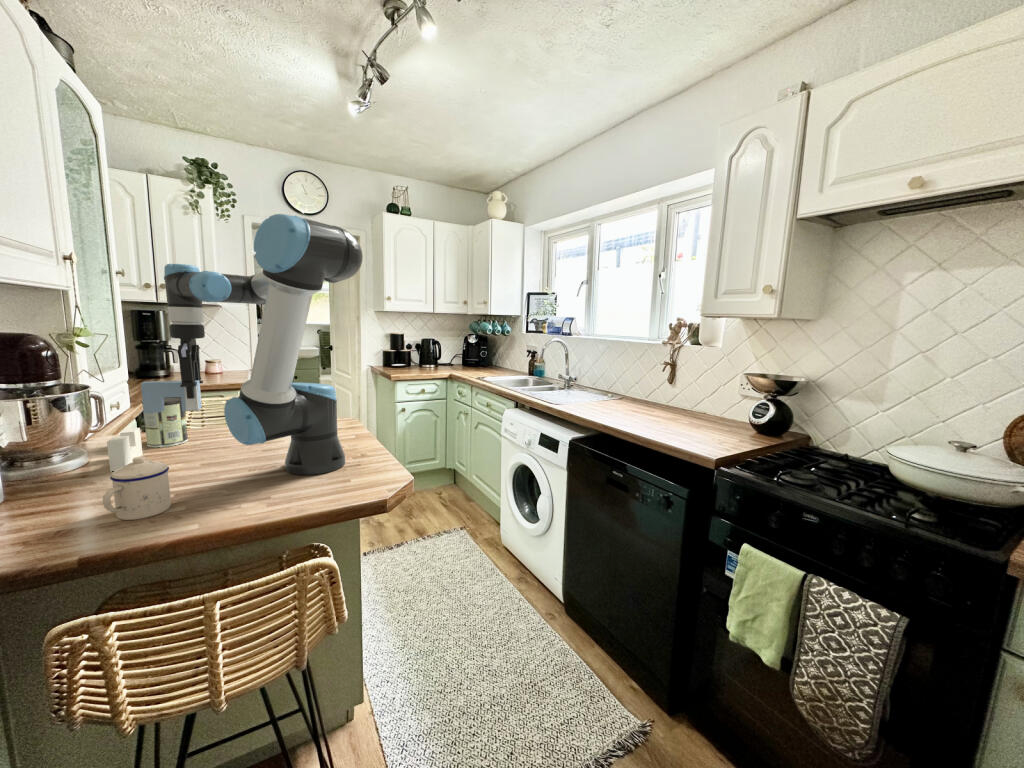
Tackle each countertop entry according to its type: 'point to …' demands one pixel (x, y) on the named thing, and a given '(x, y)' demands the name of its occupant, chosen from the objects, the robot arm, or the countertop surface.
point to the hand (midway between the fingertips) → (194, 408)
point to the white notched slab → (124, 448)
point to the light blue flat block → (163, 394)
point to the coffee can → (166, 425)
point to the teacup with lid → (139, 490)
